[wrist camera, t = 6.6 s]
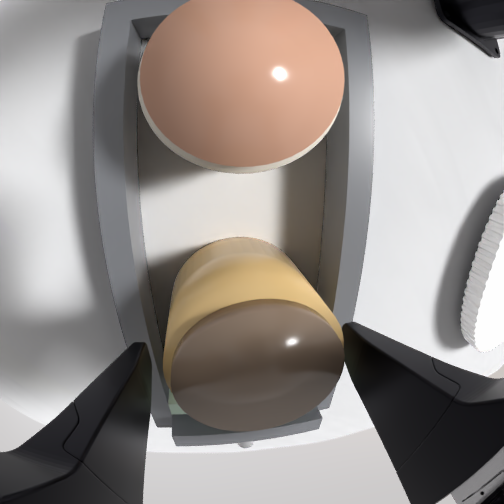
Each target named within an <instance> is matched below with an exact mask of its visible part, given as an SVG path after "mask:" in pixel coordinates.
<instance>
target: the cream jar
mask: <svg viewBox="0 0 504 504" xmlns="http://www.w3.org/2000/svg"><path fill="white" fill-rule="evenodd" d="M344 82H345V80H344V67H343V62H342V57H341V54H340V51H339V48H338V46H337V44H336V42H335V40H334V38H333V37H332V35H331V34H330V32H329V31H328V29H327V28H326V27H325V26H324V24H323V23H322V22H321V21H320V20H319V19H318V18H317V17H316V16H315V15H314V14H313V13H311V12H310V11H309V10H308V9H306V8H305V7H303V6H302V5H300V4H299V3H297V2H295V1H293V0H190V1H188V2H186V3H185V4H183V5H182V6H180V7H178V8H177V9H176V10H174V11H173V12H172V13H171V14H170V15H168V16H167V17H166V18H165V19H164V20H163V21H162V23H161V24H160V25H159V26H158V27H157V29H156V30H155V32H154V33H153V34H152V36H151V38H150V40H149V42H148V44H147V46H146V48H145V50H144V52H143V55H142V58H141V61H140V66H139V71H138V85H137V87H138V95H139V101H140V104H141V108H142V111H143V113H144V116H145V118H146V120H147V122H148V124H149V125H150V127H151V128H152V130H153V132H154V133H155V134H156V135H157V136H158V138H159V139H160V140H161V141H162V142H163V143H164V144H165V145H166V146H167V147H168V148H170V149H171V150H172V151H173V152H175V153H176V154H178V155H179V156H181V157H182V158H184V159H186V160H188V161H190V162H192V163H194V164H196V165H198V166H201V167H204V168H207V169H210V170H215V171H219V172H225V173H235V174H244V173H257V172H264V171H268V170H272V169H276V168H279V167H281V166H284V165H286V164H289V163H291V162H293V161H295V160H296V159H298V158H300V157H302V156H303V155H304V154H306V153H307V152H309V151H310V150H311V149H313V148H314V147H315V146H316V145H317V144H318V143H319V142H320V141H321V140H322V139H323V137H324V136H325V135H326V134H327V132H328V131H329V129H330V128H331V126H332V124H333V123H334V121H335V119H336V116H337V114H338V112H339V109H340V105H341V101H342V96H343V92H344Z"/></svg>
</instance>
